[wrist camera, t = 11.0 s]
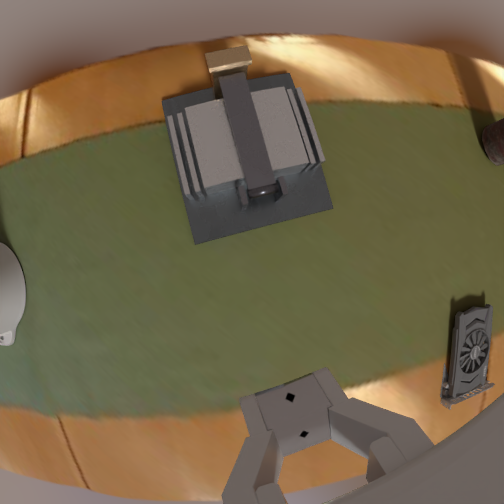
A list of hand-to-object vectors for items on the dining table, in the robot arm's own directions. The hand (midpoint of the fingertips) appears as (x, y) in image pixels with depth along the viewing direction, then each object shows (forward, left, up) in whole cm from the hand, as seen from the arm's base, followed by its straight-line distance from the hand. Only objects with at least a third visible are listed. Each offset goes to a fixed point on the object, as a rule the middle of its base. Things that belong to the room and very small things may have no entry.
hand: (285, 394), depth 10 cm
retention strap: (+4, +17, -25) cm, 30 cm away
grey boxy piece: (+4, +16, -31) cm, 35 cm away
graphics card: (+33, -22, -32) cm, 51 cm away
